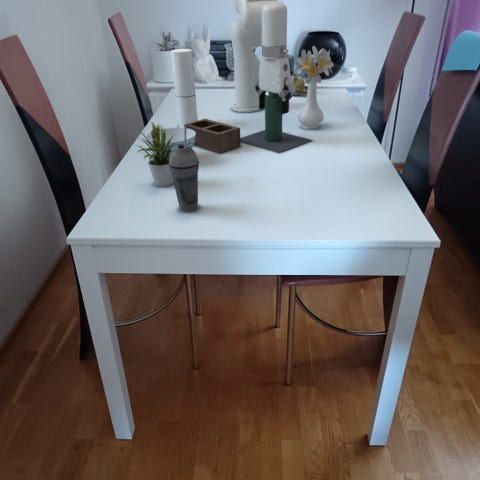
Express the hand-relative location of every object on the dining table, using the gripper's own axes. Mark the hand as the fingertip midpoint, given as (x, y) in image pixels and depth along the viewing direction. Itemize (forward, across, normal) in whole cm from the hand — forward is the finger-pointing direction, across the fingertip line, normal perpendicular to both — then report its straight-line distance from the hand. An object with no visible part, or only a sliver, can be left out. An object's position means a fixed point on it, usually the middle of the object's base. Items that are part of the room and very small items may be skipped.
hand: (273, 110), depth 160 cm
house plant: (+10, -1, +48) cm, 49 cm away
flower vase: (+10, 0, -20) cm, 22 cm away
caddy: (+10, +13, +16) cm, 23 cm away
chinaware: (+10, +11, +34) cm, 37 cm away
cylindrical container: (+10, +37, +7) cm, 39 cm away
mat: (+10, 0, 0) cm, 10 cm away
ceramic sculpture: (+10, +37, -53) cm, 66 cm away
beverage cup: (+10, -21, +54) cm, 59 cm away
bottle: (+9, 0, 0) cm, 9 cm away
